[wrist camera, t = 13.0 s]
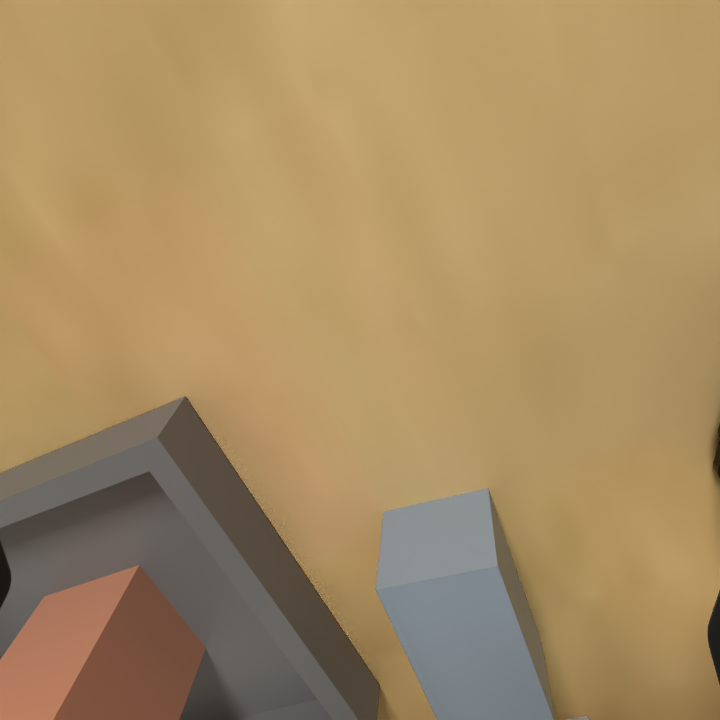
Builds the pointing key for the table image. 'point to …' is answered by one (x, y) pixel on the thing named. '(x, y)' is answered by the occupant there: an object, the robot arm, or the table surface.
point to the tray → (183, 565)
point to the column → (101, 655)
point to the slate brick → (462, 610)
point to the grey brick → (579, 718)
